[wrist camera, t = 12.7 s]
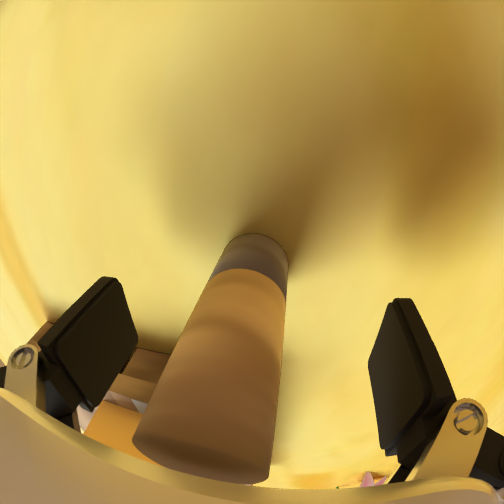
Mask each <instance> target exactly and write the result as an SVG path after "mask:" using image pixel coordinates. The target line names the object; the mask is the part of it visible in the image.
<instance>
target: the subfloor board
mask: <svg viewBox="0 0 504 504" xmlns="http://www.w3.org/2000/svg"><path fill="white" fill-rule="evenodd" d="M52 326H53V324H52V323H49V322H46V323H45V324H44V325H43V326H42V327H41V328H40V329H39V330H38V332H37V333H36V334H35V335H34V336H33V337H32V338H31V339H30V340H29V342H28V343H27V344H31V345H33V346H35V347H36V348H37V350H38V352H40V351H41V348H40V347H39V345H38V343H37V342H38V341H39V340H40V339H41V337H42V336H43V335H44V334H45V333H46V332H47V331H48V330H49V329H50V328H51V327H52ZM170 356H171V355H169V354H164V353H159V352H154V351H149V350H145V349H140V348H137V350H136V351H135V353H134V355H133V356H132V358H131V359H130V361H129V363H128V364H127V366H126V368H125V370H124V371H123V373H122V374H118V375H117V377H116V379H115V380H114V382H113V383H112V385H111V387H110V388H109V390H108V392H107V393H106V395H105V397H104V398H103V400H104V401H107V402H109V403H112V404H115V405H118V406H121V407H123V408H126V409H129V410H132V411H136V412H139V413H142V414H143V413H144V411H145V409H146V407H147V405H148V403H149V400H150V398H151V396H152V394H153V392H154V390H155V388H156V386H157V383H158V381H159V379H160V377H161V375H162V373H163V371H164V369H165V367H166V365H167V363H168V360H169V358H170ZM98 407H99V406H98ZM98 407H95V409H94V410H93V412H92V413H91V412H89V411H86V410H84V409H82V408H81V407H80V406H79V405H78V407H77V413H78V419H79V425H80V427H81V428H82V429H83V430H84V432H85V430H86V428H87V426H88V425H89V423H90V421H91V419H92V417H93V416H94V414H95V412H96V410H97V409H98ZM247 485H248V486H253V484H247Z"/></svg>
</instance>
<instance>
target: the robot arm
mask: <svg viewBox="0 0 504 504" xmlns="http://www.w3.org/2000/svg"><path fill="white" fill-rule="evenodd" d="M37 343H38V345H39V347H40V348H41V351H40V352H38V350H37V348H36V347H35V346H33V345H31V344H26V345H22V346H20V347H18V348H17V349H15V350H14V351H13V352H12V353H11V355H10V357H9V359H8V364H7V366H4V367H1V368H0V504H504V436H502V435H500V434H499V433H497V432H495V431H493V430H492V429H490V428H488V427H487V424H488V418H487V413H486V411H485V409H484V408H483V406H482V405H481V404H480V403H478V402H477V401H476V400H473V399H470V398H463V399H460V400H458V401H457V399H456V397H455V394H454V391H453V388H452V386H451V383H450V380H449V378H448V375H447V373H446V370H445V368H444V365H443V363H442V361H441V358H440V356H439V354H438V351H437V349H436V347H435V345H434V343H433V341H432V339H431V337H430V335H429V332H428V330H427V328H426V326H425V324H424V322H423V320H422V318H421V316H420V314H419V312H418V310H417V308H416V306H415V304H414V302H413V301H412V299H410V298H395V299H394V300H393V302H392V303H389V304H388V305H387V308H386V312H385V315H384V318H383V321H382V324H381V327H380V330H379V333H378V336H377V338H376V341H375V344H374V347H373V349H372V352H371V355H370V357H369V361H368V370H369V375H370V381H371V386H372V392H373V398H374V404H375V411H376V418H377V425H378V433H379V442H380V447H381V449H385V455H386V456H393V455H397V457H398V463H399V464H398V465H397V467H396V468H395V470H394V471H393V472H392V474H391V475H390V476H389V478H388V479H387V480H386V482H385V483H384V484H383V485H376V486H368V487H358V488H345V489H317V490H304V489H279V488H266V487H256V486H248V485H241V484H234V483H228V482H222V481H217V480H212V479H207V478H203V477H198V476H194V475H190V474H186V473H182V472H179V471H175V470H172V469H168V468H165V467H162V466H158V465H155V464H152V463H149V462H147V461H144V460H141V459H138V458H136V457H133V456H130V455H128V454H125V453H123V452H120V451H118V450H116V449H113V448H111V447H109V446H106V445H104V444H102V443H100V442H98V441H96V440H94V439H92V438H90V437H88V436H86V435H84V434H82V433H81V430H80V425H79V419H78V413H77V407H78V405H79V406H80V407H81V408H82V409H84V410H86V411H89V412H91V413H92V412H93V410H94V409H95V407H98V406H99V405H100V403H101V402H102V400H103V398H104V397H105V395H106V393H107V392H108V390H109V388H110V387H111V385H112V383H113V382H114V380H115V379H116V377H117V375H118V374H119V372H120V370H121V369H122V367H123V366H124V364H125V362H126V361H127V359H128V358H129V356H130V355H131V353H132V351H133V350H134V348H135V347H136V345H137V343H138V335H137V332H136V329H135V326H134V323H133V320H132V317H131V314H130V311H129V308H128V305H127V301H126V298H125V295H124V291H123V288H122V285H121V283H119V281H118V280H117V279H116V278H113V277H105V276H103V277H101V278H100V279H99V280H98V281H97V282H95V283H94V284H93V285H92V286H91V287H90V288H89V289H88V290H87V291H86V292H85V293H84V294H83V295H82V296H81V297H80V298H79V299H78V300H77V301H76V302H75V303H74V304H73V305H72V306H71V307H70V308H69V309H68V310H67V311H66V312H65V313H64V314H63V315H62V316H61V317H60V318H59V319H58V320H57V321H56V322H55V323H54V324H53V326H52V327H51V328H50V329H49V330H48V331H47V332H46V333H45V334H44V335H43V336H42V337H41V339H40V340H39V341H38V342H37Z"/></svg>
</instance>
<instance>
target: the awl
mask: <svg viewBox="0 0 504 504" xmlns="http://www.w3.org/2000/svg"><path fill="white" fill-rule="evenodd" d="M287 277H288V260H287V256H286V254H285V252H284V250H283V249H282V247H281V246H280V245H279V244H278V243H277V242H276V241H274V240H273V239H271V238H269V237H267V236H264V235H260V234H245V235H241V236H239V237H237V238H235V239H233V240H232V241H231V242H230V243H229V244H228V245H227V246H226V248H225V250H224V251H223V253H222V255H221V257H220V259H219V261H218V263H217V265H216V267H215V269H214V271H213V273H212V275H211V276H210V278H209V280H208V282H207V284H206V286H205V288H204V290H203V292H202V294H201V296H200V298H199V300H198V302H197V304H196V306H195V308H194V310H193V312H192V314H191V316H190V318H189V320H188V322H187V324H186V326H185V328H184V330H183V332H182V334H181V336H180V338H179V340H178V342H177V344H176V346H175V348H174V350H173V352H172V354H171V356H170V358H169V360H168V363H167V365H166V367H165V369H164V371H163V373H162V375H161V377H160V379H159V381H158V383H157V386H156V388H155V390H154V392H153V394H152V396H151V398H150V400H149V403H148V405H147V407H146V409H145V411H144V413H143V415H142V418H141V420H140V422H139V424H138V426H137V429H136V431H135V433H134V435H133V437H132V443H133V445H134V446H135V447H136V448H137V449H138V450H139V451H140V452H141V453H142V454H143V455H145V456H146V457H148V458H149V459H151V460H152V461H154V462H156V463H158V464H160V465H162V466H164V467H166V468H168V469H172V470H175V471H179V472H182V473H186V474H190V475H194V476H198V477H203V478H207V479H212V480H217V481H222V482H228V483H234V484H241V485H247V484H255V483H260V482H263V481H265V480H266V479H267V478H268V476H269V470H270V462H271V455H272V447H273V439H274V430H275V422H276V413H277V403H278V394H279V383H280V373H281V362H282V350H283V337H284V324H285V309H286V294H287Z"/></svg>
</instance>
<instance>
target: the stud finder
mask: <svg viewBox="0 0 504 504" xmlns="http://www.w3.org/2000/svg"><path fill="white" fill-rule="evenodd" d="M142 415H143V414H142V413H139V412H136V411H132V410H129V409H126V408H123V407H121V406H118V405H115V404H112V403H109V402H107V401H104V400H102V402H101V403H100V405H99V407H98V409H97V410H96V412H95V414H94V416H93V417H92V419H91V421H90V423H89V425H88V426H87V428H86V430H85V432H84V435H86V436H88V437H90V438H92V439H94V440H96V441H98V442H100V443H102V444H104V445H106V446H109V447H111V448H113V449H116V450H118V451H120V452H123V453H125V454H128V455H130V456H133V457H136V458H138V459H141V460H144V461H147V462H149V463H152V464H155V465H158V466H162V465H160V464H158V463H156V462H154V461H152V460H151V459H149V458H148V457H146V456H145V455H143V454H142V453H141V452H140V451H139V450H138V449H137V448H136V447H135V446H134V445H133V443H132V437H133V435H134V433H135V431H136V429H137V426H138V424H139V422H140V420H141V418H142ZM162 467H164V466H162ZM165 468H166V467H165Z"/></svg>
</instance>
